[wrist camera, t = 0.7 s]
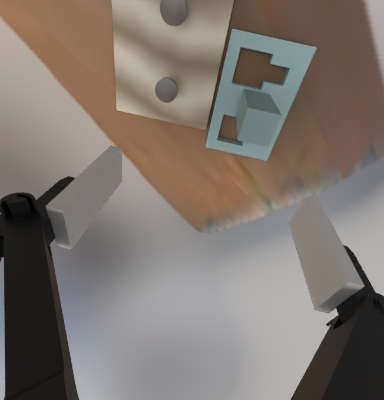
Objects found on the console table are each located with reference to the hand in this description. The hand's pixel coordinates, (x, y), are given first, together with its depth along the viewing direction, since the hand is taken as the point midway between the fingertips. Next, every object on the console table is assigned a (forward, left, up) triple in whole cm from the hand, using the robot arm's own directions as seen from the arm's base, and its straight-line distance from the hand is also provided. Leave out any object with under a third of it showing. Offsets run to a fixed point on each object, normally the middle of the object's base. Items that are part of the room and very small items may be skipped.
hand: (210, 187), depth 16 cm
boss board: (-5, -8, -21) cm, 23 cm away
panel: (-1, +4, -21) cm, 22 cm away
